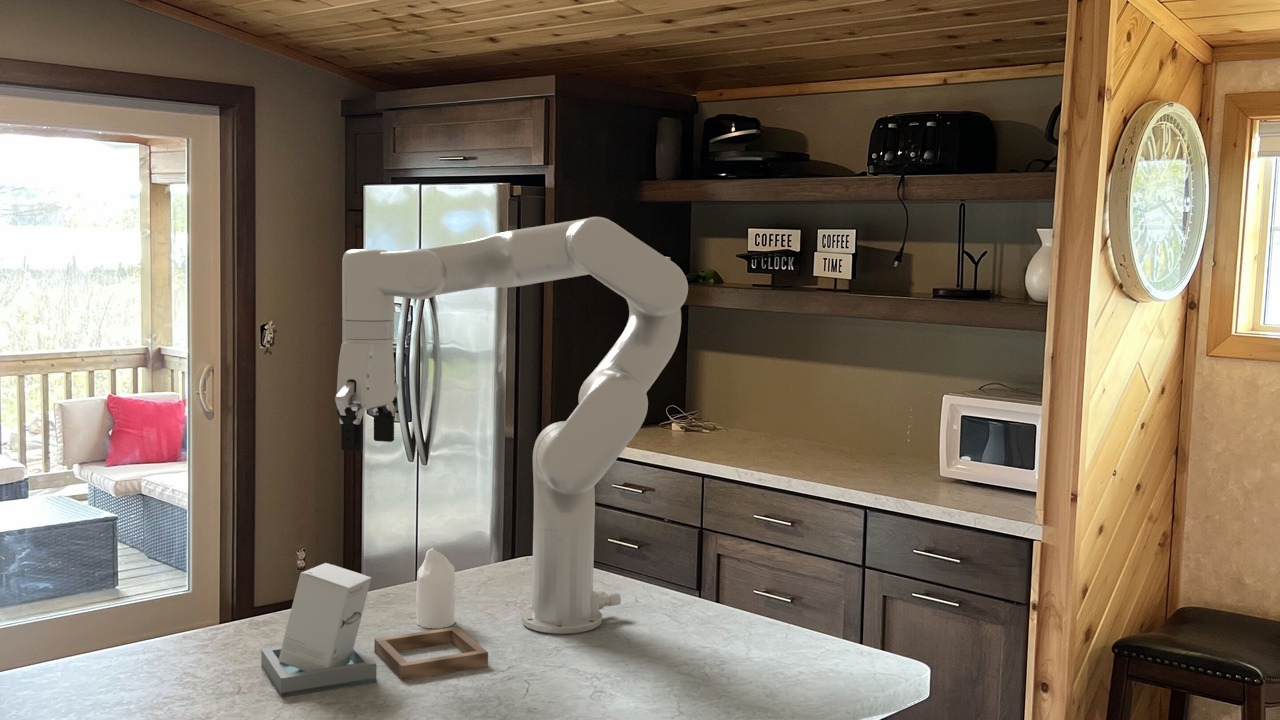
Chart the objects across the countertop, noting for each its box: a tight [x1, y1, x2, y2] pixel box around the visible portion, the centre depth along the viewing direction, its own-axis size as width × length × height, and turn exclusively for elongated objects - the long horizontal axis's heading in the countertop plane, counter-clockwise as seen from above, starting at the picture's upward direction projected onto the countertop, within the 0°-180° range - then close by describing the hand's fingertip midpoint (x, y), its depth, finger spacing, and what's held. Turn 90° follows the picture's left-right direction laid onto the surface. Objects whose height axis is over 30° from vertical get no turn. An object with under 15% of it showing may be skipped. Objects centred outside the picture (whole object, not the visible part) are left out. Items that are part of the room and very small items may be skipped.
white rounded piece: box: [415, 547, 456, 629], centre depth 176 cm, size 6×12×6 cm
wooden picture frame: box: [374, 626, 489, 681], centre depth 160 cm, size 12×12×2 cm
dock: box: [260, 640, 378, 698], centre depth 154 cm, size 12×12×2 cm
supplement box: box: [278, 562, 372, 671], centre depth 153 cm, size 7×7×13 cm
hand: (368, 445), depth 171 cm, fingers open, 9 cm apart
